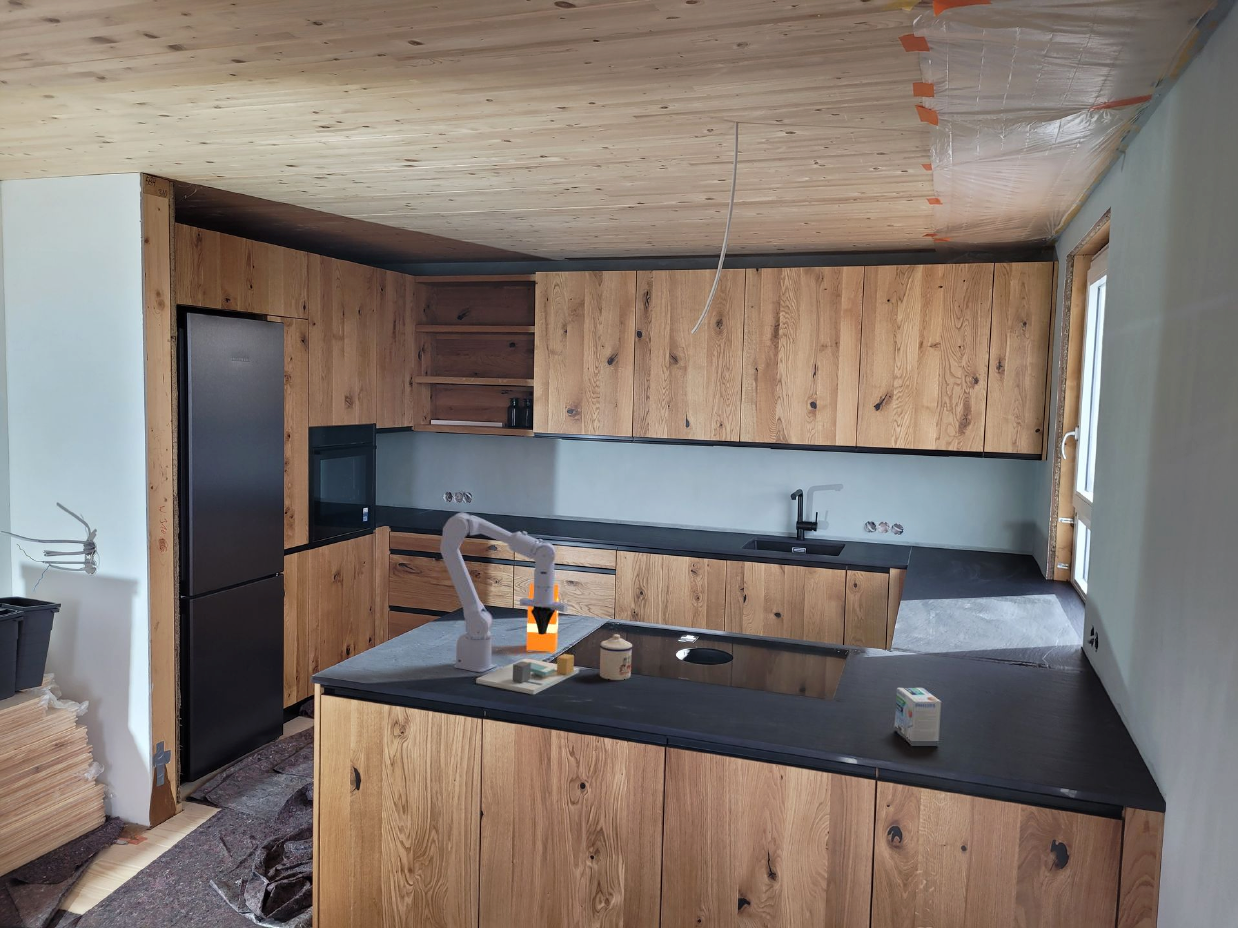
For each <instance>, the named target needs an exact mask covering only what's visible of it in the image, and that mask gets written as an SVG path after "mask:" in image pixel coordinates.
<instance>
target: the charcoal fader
mask: <svg viewBox="0 0 1238 928" xmlns="http://www.w3.org/2000/svg"><path fill="white" fill-rule="evenodd" d="M512 664H513V663H512ZM530 671H531V663H528V662H523V661H521V662H518V663H516V664H513V681H515V682H520V683H523V682H525V681H527V680H529V679H530Z"/></svg>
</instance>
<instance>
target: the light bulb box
mask: <svg viewBox="0 0 1238 928" xmlns="http://www.w3.org/2000/svg"><path fill="white" fill-rule="evenodd" d="M895 701H896V702H895V715H894V716H895V717H894V727H895V726H896V727H897V728H898V729H899V730H900V731H901V732H902V733H903V734H904V735H905V736H906V737H908V739H910V740H911V741H939V740H940V727H941V726H940V722H941V710H942V709H941V708H942V701H941V700H940V699H938V698H937V697H936V696H934V695H933V694H931V693H930V692H929V691H927V690H926V689H925V688H923V687H897V688H896V699H895Z"/></svg>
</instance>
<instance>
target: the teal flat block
mask: <svg viewBox="0 0 1238 928" xmlns="http://www.w3.org/2000/svg"><path fill="white" fill-rule="evenodd" d="M528 663H531V671H530V672H533V673H536V674H539V675H543V676H548V675H550V674H552V673H554V670H555V669H554V668H551V667H546V666H543V665H539V664H536V663H532V662H528Z"/></svg>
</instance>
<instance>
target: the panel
mask: <svg viewBox="0 0 1238 928" xmlns="http://www.w3.org/2000/svg"><path fill="white" fill-rule="evenodd" d="M521 661H523V662H532V663H536V664H539V665H543V666H546V667H551V668H554V669H555V670H554V673H552V674H550V675H548V676H543V675H539V674H536V673H533V672H530V679H529V680H527V681H525V682H523V683H520V682H515V681H513V664H516V663H518V662H521ZM579 673H580V668H579V667H576V666H574V671H573V672H571V673H569V674H567V675H566V674H560V673H557V663H554V662H553V663H552V662H547V661H541V660H537V659H532V658H523V659H519V660H517V661H515V662H513V663H510V664H508V665H506V666H503V667H501V668H499V669H495V670H494V671H491V672H489V673H487V674H484V675H482V676H480V677H477V678H476V681H475V682H476V684H478V685H484V686H490V687H495V688H499V689H503V690H504V689H505V690H509V691H513V692H519V693H524V694H529V695H532V696H533V695H536V694H537V693H540V692H541V691H544V690H546V689H548V688H551V687H552V686H554V685H556V684H559V683H560V682H563V681H565V680H566V679H568V678H571V677H572V676H575V675H576V674H579Z"/></svg>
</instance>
